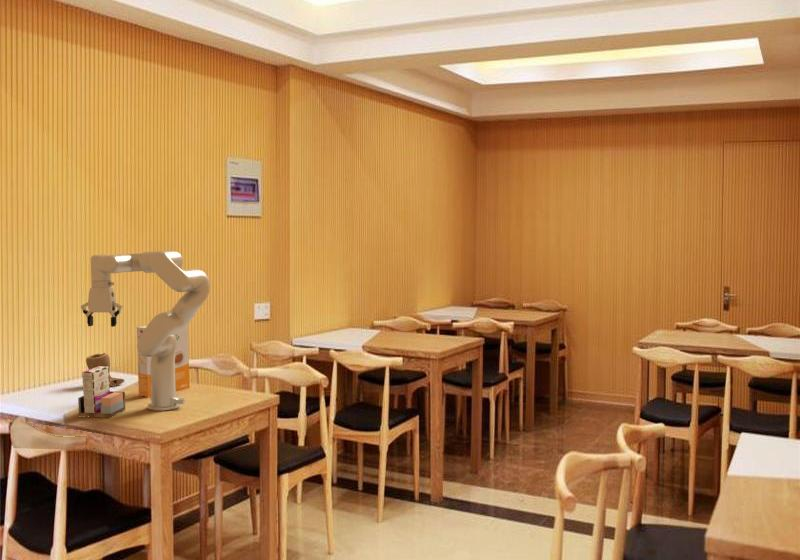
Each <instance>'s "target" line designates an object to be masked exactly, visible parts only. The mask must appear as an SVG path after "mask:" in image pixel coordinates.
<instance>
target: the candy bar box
mask: <svg viewBox="0 0 800 560" xmlns="http://www.w3.org/2000/svg"><path fill="white" fill-rule="evenodd" d="M81 374H82V390H83V396H84V412H85V413H98V412H100V411H101V405H102V402H101V398H103V397H105V396H107V395H109V394H110V391H111V389H110V387H111V386H109V367H104V366H98V367H95V368H92V369H90V370H89V369H87V370H85V371H82V373H81Z"/></svg>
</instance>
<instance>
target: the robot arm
mask: <svg viewBox="0 0 800 560" xmlns="http://www.w3.org/2000/svg"><path fill="white" fill-rule="evenodd" d="M183 264H184V257H183V256H182V254H181V253H180V252H178V251H176V250H158V251H157V250H156V251H154V250H153V251H144V252H142V253H120V254H118V253H117V254H93V255H92V256H91V257H90V284H91V285H90V287H89V291H88V299H87V300H88V301H87V302H86V303H83V304H81V305H80V309H81V310H82V313H83V314H84V315H85V317H87V319H86V320H87V327H92V326H94V316H93V314H94V313H109V314H110V315H111V317H110V327H112V328H113V327H116V326H117V324H118V323H117V322H118V321H117V320H118V319H117V317H118V316H119V315H120V313H121V311H122V309H123V305H121V304H119V303H117V302H116V295H115V291H114V288H113V287H112V286H114V285H115V282H113V281H112V275H111V274H121V273H133V272H143V273H145V274H146V273H147V274H149V273H150V274H153V273H155V274H156V275H157V277H159V279H161V280H162V282H164V283H165V284H166V285H167V286H168V287H169V288H171V289H172V290H173V291H174V292H177V293H184V294H183V295H182V296H180V298H179V299H178V301H177V303H176V304H175V305H174V306H173V307H172V308H171V309H170V310H168V311H163V312H160V313H157V314H156V315H154V316H153V318H151V320H150V322H149V323H148V324H147V325H146V326H147V327H146V328H145V330H144V331H143V333H142V334H141V335H140V337H139V339H138V342H136V343H137V344H136V349H138V351H137V353H138V352H139V353H140V354H141V355H143V356H145V357H151V363H150V375H151V397H150V399H151V400H150V402H151V403H149V404H148V405H147V406H146V407H147V409H148V410H150V411H156V412H157V411H159V412H163V411H164V412H165V411H170V410H171V411H172V410H175V409H178V408H179V407H181V405H184V404H186V399H185V398H183V397H181V398H179V394H177V393H176V392H177V391H176V388H175V352H176V345H177V340H176V337H175V335H174V334H178V333H181V332H182V331H184V330H185V328H186V327H187V325H188V326H189V324H190V323H191V321H192V320H193V318H194V317H195V316H196V314H197V312H198V311H199V310H200V309H201V307H202V306H203V305H204V303H205V302H206V301H207V298H208V296H209V293H210V290H211V283H210V279H209V277H208V275H207V274H206V273H205V272H204V271H203V270H202V269H201V270H200V269H197V268H192V269H191V268H190V269H181V268H182V266H183ZM87 308H88V309H87ZM116 308H117V310H116Z"/></svg>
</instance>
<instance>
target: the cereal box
mask: <svg viewBox="0 0 800 560" xmlns="http://www.w3.org/2000/svg"><path fill="white" fill-rule="evenodd" d="M147 326H148V325H144V326H136V341H137V342H138V339H139V337H140V335H141V334H142V333H143V331H144V330H145V328H146V327H147ZM174 335H175V337H176V340H177V345H176V352H175V388H176V392H179V391H183V390H187V389H190V361H189V360H190V359H189V358H190V357H189V355H190V354H189V324H188V325H187V327H186V328H185V330H184V331H182V332H181V333H178V334H174ZM137 342H136V343H137ZM136 349H137V348H136ZM150 363H151V357H145V356H143V355H141V354H140V353H139V352H138V349H137V370H138V371H137V376H138V377H137V379H138V383H137V384H138V396H139V395H140V396H139V397H142V396H145V397H144V398H148V397H149V398H151V375H150Z"/></svg>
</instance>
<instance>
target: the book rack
mask: <svg viewBox="0 0 800 560" xmlns="http://www.w3.org/2000/svg"><path fill="white" fill-rule="evenodd" d="M77 401H78V403H77V404H78V413H77V417H78V416H81V417H80V418H83V417H82V416H85V417H84V418H91V417H111V418H113V417H115V416H116V415H115V414H117V413H119V412H121V411H123V410H125V411H126V392H125V391H118V390H117V391H114V390H113V391H111V390H110V394H109V395H107V396H105V397H103V398H101V402H102V405H101V411H100V412H98V413H85V412H84V395H82V396H80V397H78V399H77ZM123 412H124V411H123ZM121 413H122V412H121ZM119 414H120V413H119ZM114 415H115V416H114ZM117 415H118V414H117ZM88 416H89V417H88ZM112 416H113V417H112Z"/></svg>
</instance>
